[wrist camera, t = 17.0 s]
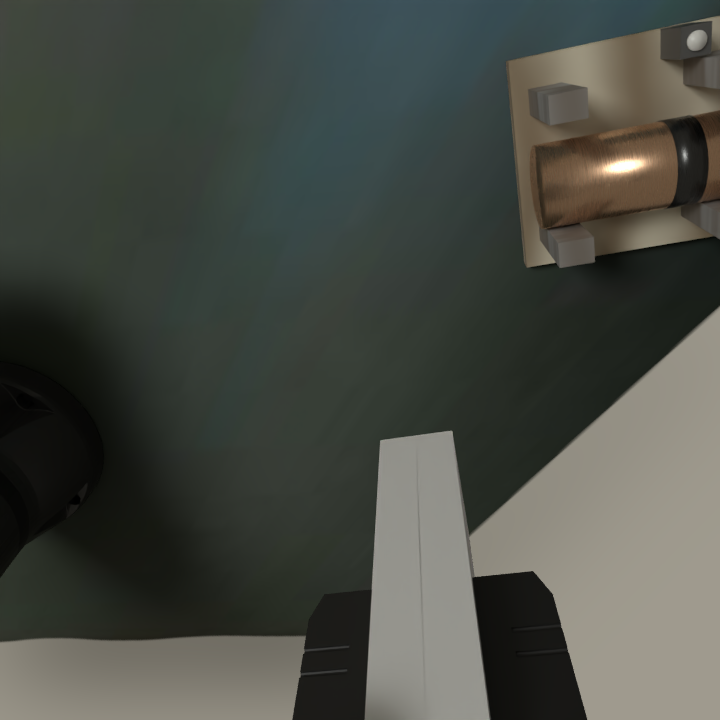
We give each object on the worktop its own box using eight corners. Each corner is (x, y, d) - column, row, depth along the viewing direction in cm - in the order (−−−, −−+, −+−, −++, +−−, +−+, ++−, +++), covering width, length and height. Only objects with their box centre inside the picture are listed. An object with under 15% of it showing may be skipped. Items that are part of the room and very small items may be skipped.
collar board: (524, 263, 44) (544, 298, 38) (505, 61, 39) (525, 63, 33) (721, 229, 43) (776, 261, 36) (731, 12, 37) (798, 5, 31)
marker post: (660, 59, 38) (681, 59, 35) (660, 29, 37) (682, 27, 34) (688, 53, 37) (712, 53, 34) (689, 22, 37) (713, 20, 34)
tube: (799, 91, 38) (854, 87, 33) (794, 178, 40) (846, 186, 35) (526, 142, 40) (542, 146, 35) (534, 222, 42) (549, 236, 37)
